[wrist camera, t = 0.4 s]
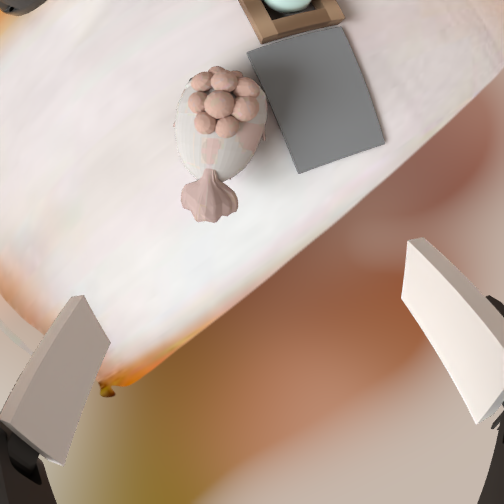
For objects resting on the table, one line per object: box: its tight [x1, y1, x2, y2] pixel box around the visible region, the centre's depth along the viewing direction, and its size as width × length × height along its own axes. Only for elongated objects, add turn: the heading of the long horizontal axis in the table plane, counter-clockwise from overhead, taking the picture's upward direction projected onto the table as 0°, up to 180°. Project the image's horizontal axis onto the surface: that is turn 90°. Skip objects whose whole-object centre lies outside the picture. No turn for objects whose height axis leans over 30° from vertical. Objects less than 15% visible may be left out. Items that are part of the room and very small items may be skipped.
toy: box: [173, 66, 267, 223], centre depth 28 cm, size 10×15×10 cm, turn 169°
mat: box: [247, 27, 385, 174], centre depth 29 cm, size 16×12×1 cm
